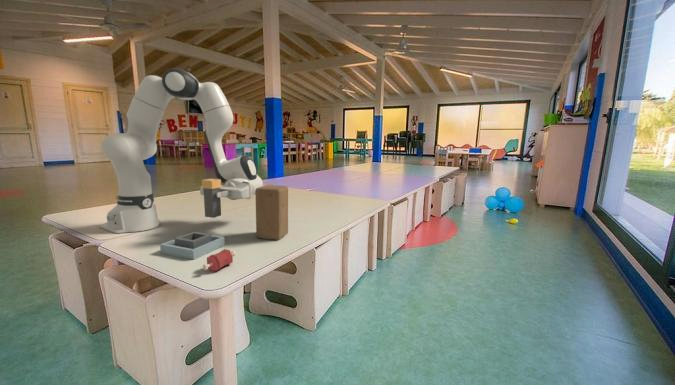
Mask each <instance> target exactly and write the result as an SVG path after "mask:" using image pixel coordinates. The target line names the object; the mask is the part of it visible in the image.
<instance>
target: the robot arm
mask: <svg viewBox="0 0 675 385" xmlns="http://www.w3.org/2000/svg"><path fill="white" fill-rule="evenodd" d="M173 99H178V100H182V101H187V102H188V101H189V102H192V101H196V102H197V104H198V106H199V107H200V109H201V111H202V114H203V116H204V120H205V125H206V128H205V130H204V134H205V140H206V143H207V146H208V150H209V153H210V157H211V160H212V163H213V169H214V174H215V178H216V179H221V187H220V192H215V197H220V198H227V199H229V200H231V201H236V200H250V199H253V196H254V195H255V190H256V188H259V187H262V186H264V182H263V180H262V177H260V176H259V175H258V171H257V165H256V163H255V161H254V160H253V158H251V157H249V156H248V155H243V154H242V155H241V156H238V157H234V158H231V159H229V160H228V159H227V158H226V154H225V151H224V148H223V144H222V143H223V142H222V139H223V137H224V135H225V134H226V133H227V132H228V131H229V130H230V129H231V127H232V126H233V123H234V121H235V120H234V118H235V117H234V114H233V111H232V108H231V106H230V104H229V102H228V100H227V97H226V96H225V94H224V93H223V90H222V89H221V87H220V86H219V85H218V84H217V83H215V82H213V81H212V82H211V81H206V82H200V80H199V79H198V78H197V77H196V76H194V75H193V74H192V73H190V72H189V71H186V70H185V69H182V68H178V67H172V68H168V69H167V70H166V71H165V72H163V74H162V77H160V76H159V75H154V74H153V75H152V74H151V75H146V76H144V78H143V79H142V81H141V82H140V83H139V85H138V87H137V89H136V91H135V93H134V95H133V97H132V100H131V102H130V105H129V107H128V110H127V111H126V117H127V121H128V126H127V131H126V132H125V133H124V132H123V133H121V132H118V133H114V134H110V135H108V136H106V137H104V139H103V140H102V141H101V145H100V148H101V152H102V154H103V155H104V156H105V157H106V158H107V159H108V160H109V161H110V163H111V165H112V167H113V169H114V171H115V174H116V178H117V183H118V192H119V195H118V196H116V200H117V201H116V205H115V206H114V207H112V209H111V210H109V211H108V212H107V214H106V222H105V223H102V224H100V228H101V229H103V230H106V231H109V232H111V233H114V234H122V233H132V232H133V233H134V232H142V231H147V230H152V229H155V228H157V227H159V226H160V223H161V219H159V216H158V210H157V205H156V204H154V202H155V196H154V193H153V189H152V178H151V174H150V173H149V172H148V170H147V169H146V166H145V164H144V160H147V159H149V158H152V157H153V156H154V155H155V154H157V150H158V148H157V147H158V146H157V143H156V142H157V137H158V135H157V134H158V131H159V127H160V124H161V122H162V119H163V116H164V114H165V111H166V110H167V107H168V104H169V102H170V101H171V100H173ZM199 192H200V195H202V196H203V197H204V189H203V188H202V185H201V186H200V189H199ZM255 196H256V195H255Z"/></svg>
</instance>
